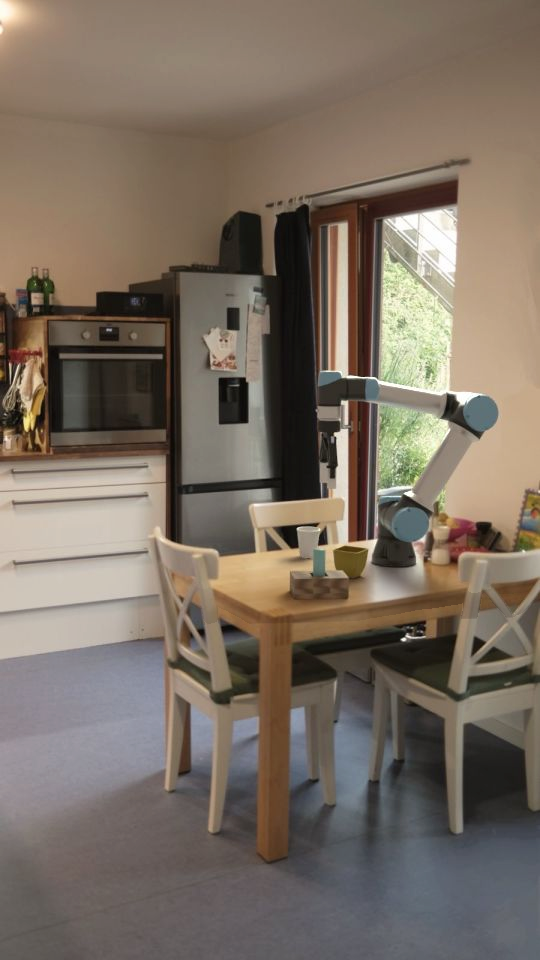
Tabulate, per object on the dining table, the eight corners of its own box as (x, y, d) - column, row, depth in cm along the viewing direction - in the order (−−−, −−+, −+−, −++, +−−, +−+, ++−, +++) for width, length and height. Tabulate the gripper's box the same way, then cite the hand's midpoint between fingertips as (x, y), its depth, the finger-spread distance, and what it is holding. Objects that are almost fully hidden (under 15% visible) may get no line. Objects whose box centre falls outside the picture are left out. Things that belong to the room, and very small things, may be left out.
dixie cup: (316, 560, 337) (316, 531, 336) (293, 558, 340) (293, 529, 338) (322, 555, 345) (323, 527, 344) (299, 553, 347) (300, 525, 346)
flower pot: (368, 575, 315) (369, 548, 314) (356, 580, 308) (357, 552, 307) (344, 572, 320) (344, 545, 318) (331, 577, 312) (332, 549, 311)
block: (342, 589, 296) (342, 570, 296) (348, 598, 286) (348, 578, 286) (289, 590, 294) (290, 571, 294) (294, 599, 285) (294, 578, 284)
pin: (323, 587, 292) (324, 548, 291) (325, 590, 289) (326, 550, 287) (311, 588, 292) (312, 548, 290) (313, 591, 288) (314, 551, 287)
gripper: (311, 416, 323) (310, 480, 326) (324, 422, 298) (322, 491, 301) (333, 416, 324) (332, 480, 327) (348, 422, 299) (346, 491, 302)
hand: (327, 485), depth 314 cm, fingers open, 13 cm apart
